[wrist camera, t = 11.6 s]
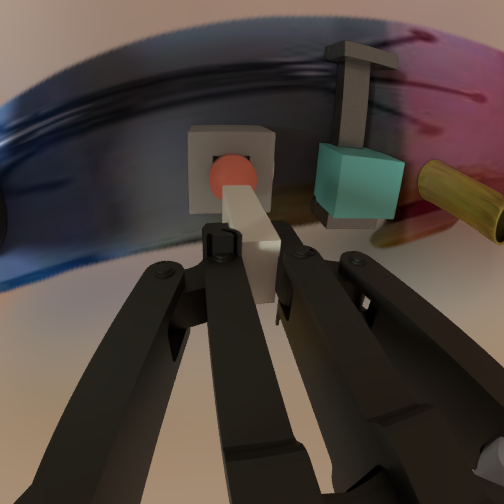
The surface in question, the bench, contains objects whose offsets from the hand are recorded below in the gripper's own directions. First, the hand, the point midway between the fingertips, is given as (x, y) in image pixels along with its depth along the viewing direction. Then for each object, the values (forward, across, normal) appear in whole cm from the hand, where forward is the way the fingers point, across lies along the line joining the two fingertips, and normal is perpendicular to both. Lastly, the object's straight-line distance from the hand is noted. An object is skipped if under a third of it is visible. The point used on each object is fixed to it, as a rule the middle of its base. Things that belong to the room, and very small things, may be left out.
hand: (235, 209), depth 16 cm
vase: (+15, +29, -1) cm, 33 cm away
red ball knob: (+12, +1, 0) cm, 12 cm away
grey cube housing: (+16, +1, 0) cm, 16 cm away
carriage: (+15, +14, -1) cm, 21 cm away
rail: (+15, +14, +3) cm, 21 cm away
